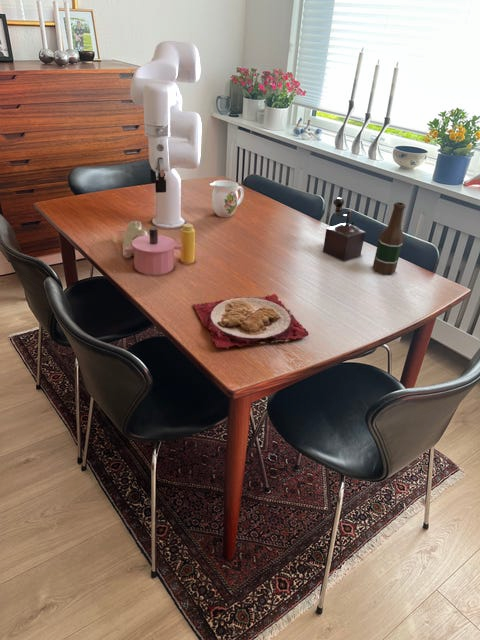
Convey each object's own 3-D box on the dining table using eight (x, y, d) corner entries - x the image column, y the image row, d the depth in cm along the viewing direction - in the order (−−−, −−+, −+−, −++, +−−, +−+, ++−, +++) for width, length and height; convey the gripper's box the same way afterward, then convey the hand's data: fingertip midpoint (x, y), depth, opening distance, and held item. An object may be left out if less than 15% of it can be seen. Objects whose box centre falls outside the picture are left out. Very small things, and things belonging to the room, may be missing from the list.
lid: (129, 238, 159) (128, 221, 156) (171, 237, 163) (171, 220, 160) (134, 256, 148) (133, 237, 145) (179, 253, 152) (179, 235, 149)
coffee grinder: (362, 255, 180) (373, 208, 171) (343, 261, 174) (353, 213, 165) (331, 241, 190) (339, 195, 181) (311, 246, 184) (319, 200, 175)
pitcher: (250, 214, 210) (253, 182, 202) (217, 221, 199) (218, 188, 192) (233, 206, 216) (236, 175, 209) (201, 213, 206) (202, 181, 199)
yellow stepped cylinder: (179, 259, 166) (179, 222, 159) (192, 258, 168) (193, 222, 161) (181, 265, 163) (182, 228, 156) (195, 264, 164) (196, 227, 157)
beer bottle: (395, 268, 173) (412, 202, 160) (394, 277, 166) (412, 209, 154) (373, 264, 174) (388, 198, 162) (371, 272, 168) (386, 204, 156)
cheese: (146, 268, 163) (168, 232, 167) (130, 256, 158) (153, 218, 162) (123, 266, 174) (143, 231, 178) (107, 254, 169) (128, 219, 173)
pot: (124, 260, 162) (122, 238, 158) (177, 257, 167) (177, 235, 163) (128, 277, 152) (127, 254, 148) (185, 273, 157) (185, 250, 153)
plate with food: (309, 340, 130) (311, 329, 128) (216, 351, 121) (217, 339, 119) (275, 298, 149) (276, 288, 147) (193, 305, 140) (193, 294, 139)
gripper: (175, 137, 139) (175, 196, 148) (164, 123, 152) (165, 178, 162) (148, 137, 136) (150, 196, 146) (140, 123, 150) (142, 178, 159)
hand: (158, 187), depth 154 cm, fingers open, 9 cm apart
